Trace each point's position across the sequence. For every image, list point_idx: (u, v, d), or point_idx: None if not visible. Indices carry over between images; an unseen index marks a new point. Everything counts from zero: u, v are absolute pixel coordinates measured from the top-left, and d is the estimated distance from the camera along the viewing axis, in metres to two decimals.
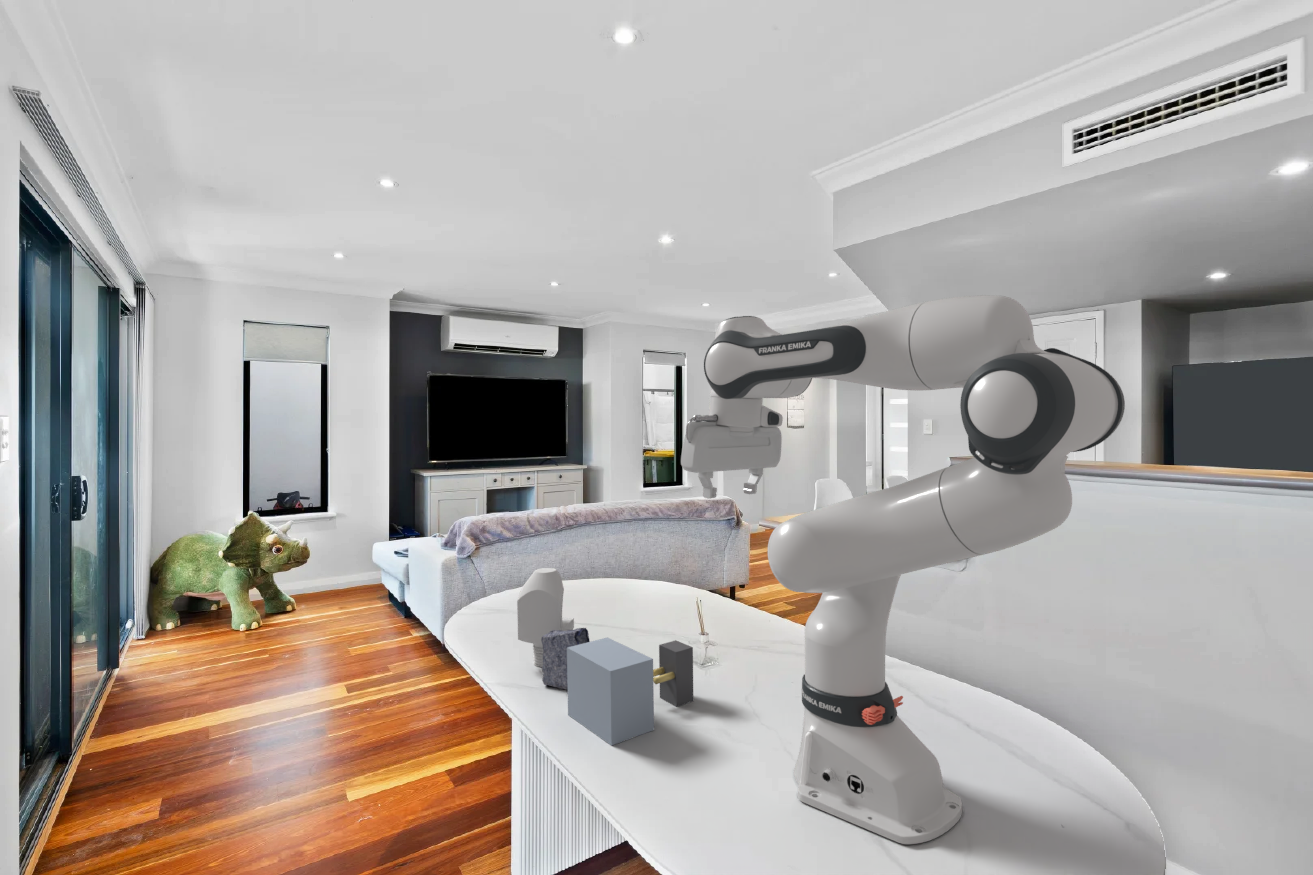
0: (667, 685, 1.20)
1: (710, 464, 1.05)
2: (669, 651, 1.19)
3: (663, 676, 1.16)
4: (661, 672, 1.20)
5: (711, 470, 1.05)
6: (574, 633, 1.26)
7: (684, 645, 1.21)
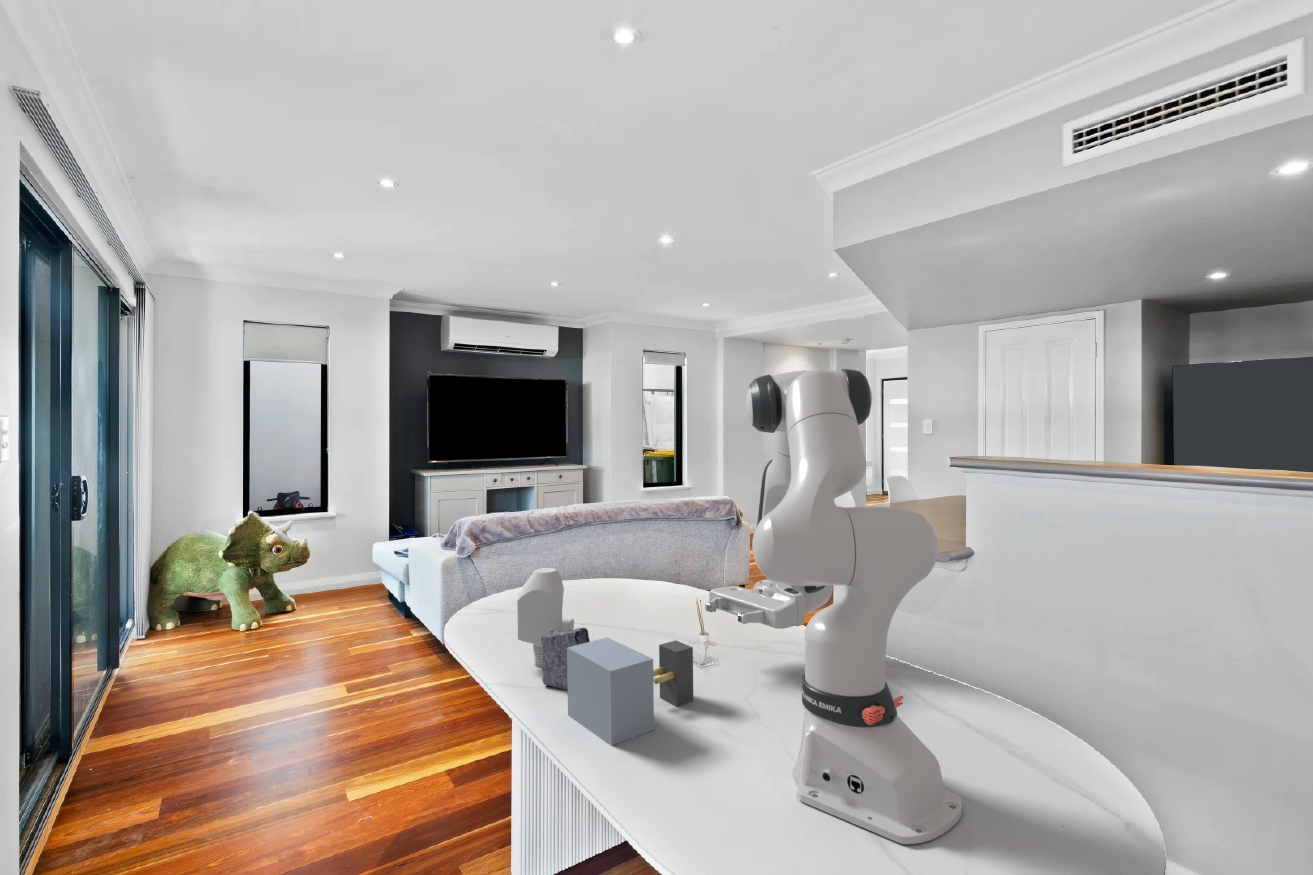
0: (667, 685, 1.20)
1: (722, 591, 1.37)
2: (669, 651, 1.19)
3: (663, 676, 1.16)
4: (661, 672, 1.20)
5: (720, 593, 1.36)
6: (574, 633, 1.26)
7: (684, 645, 1.21)
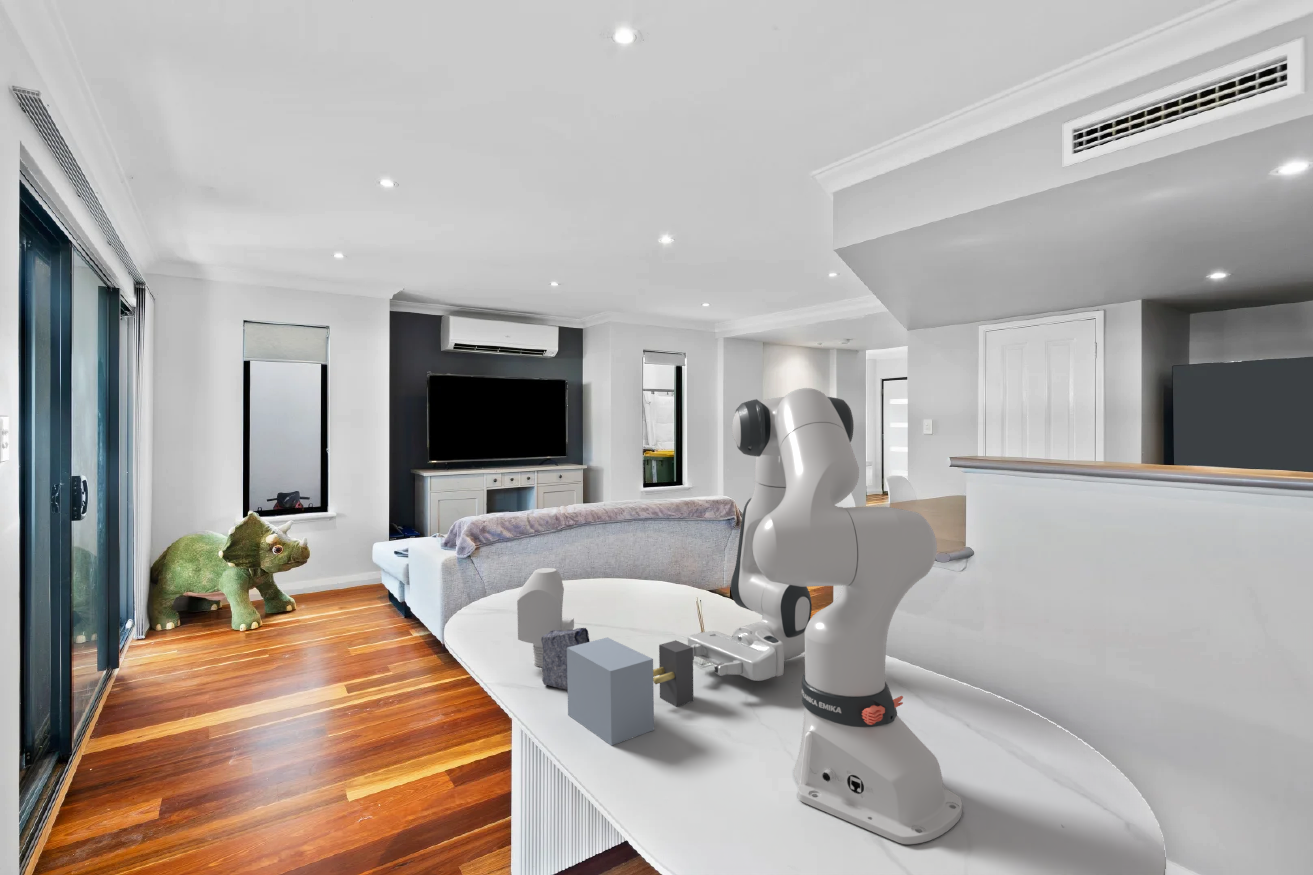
0: (667, 685, 1.20)
1: (701, 638, 1.33)
2: (670, 651, 1.19)
3: (663, 676, 1.16)
4: (661, 672, 1.20)
5: (698, 640, 1.32)
6: (574, 633, 1.26)
7: (684, 645, 1.21)
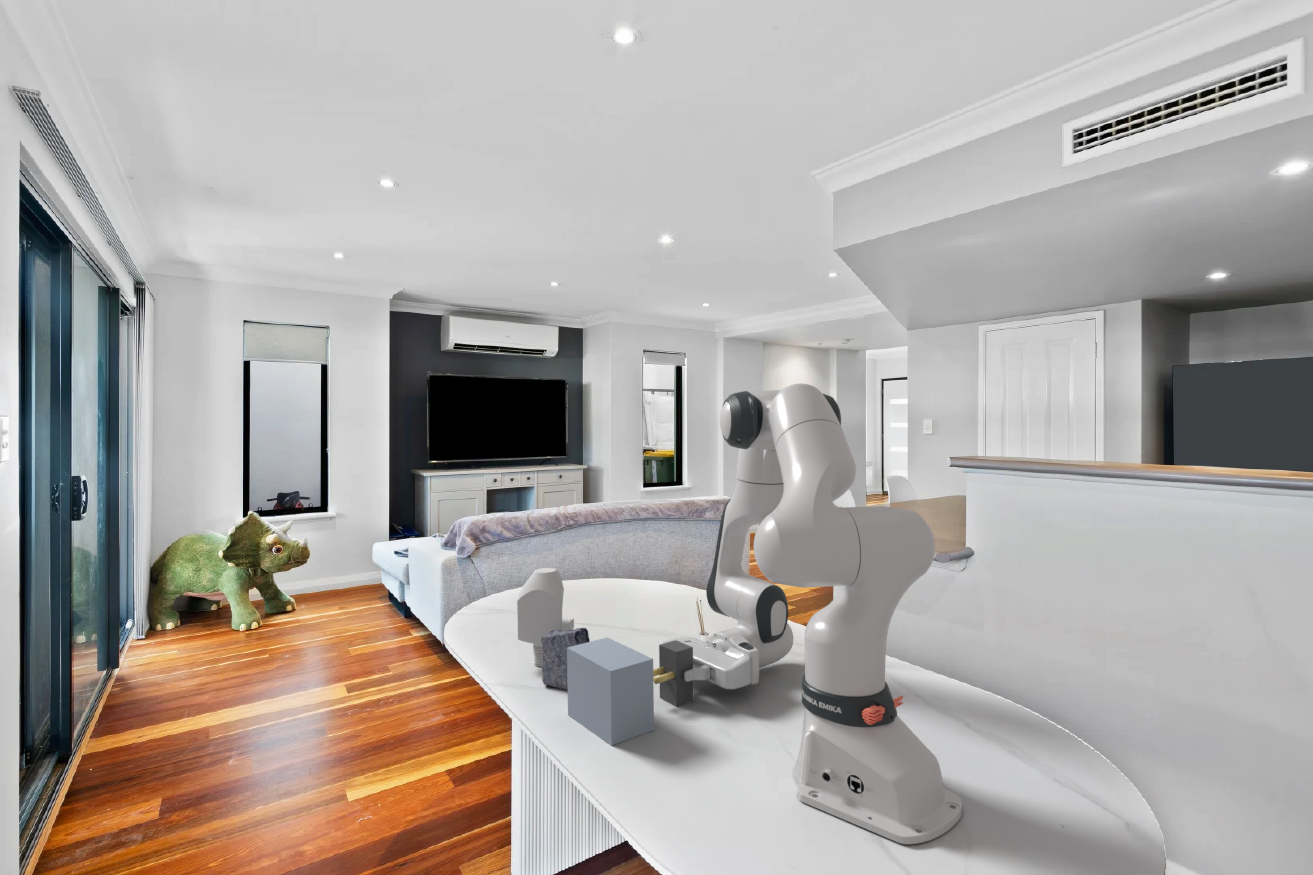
0: (667, 685, 1.20)
1: None
2: (670, 651, 1.19)
3: (663, 676, 1.16)
4: (661, 672, 1.20)
5: None
6: (574, 633, 1.26)
7: (684, 645, 1.21)
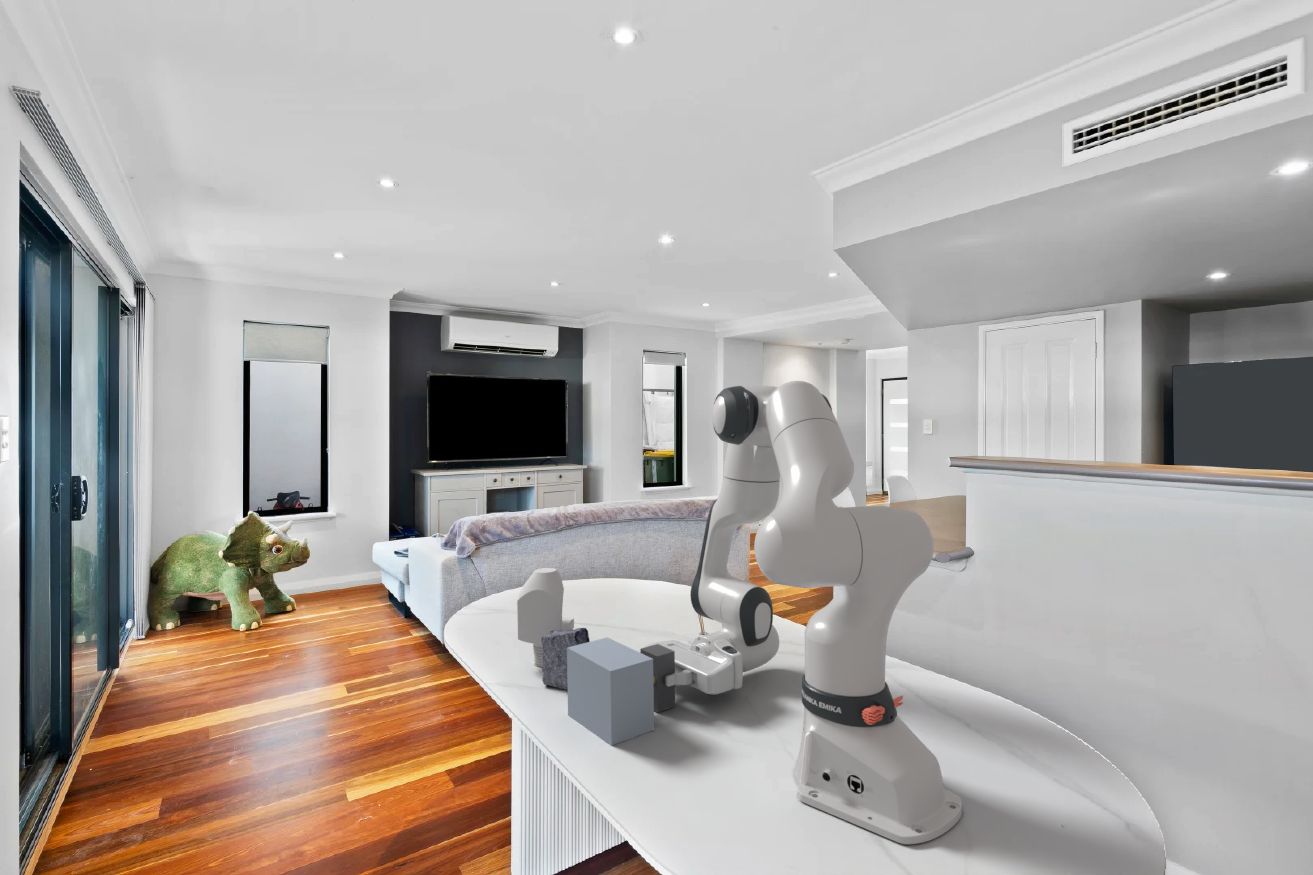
0: None
1: None
2: (651, 656, 1.16)
3: None
4: None
5: None
6: (574, 633, 1.26)
7: (666, 649, 1.18)
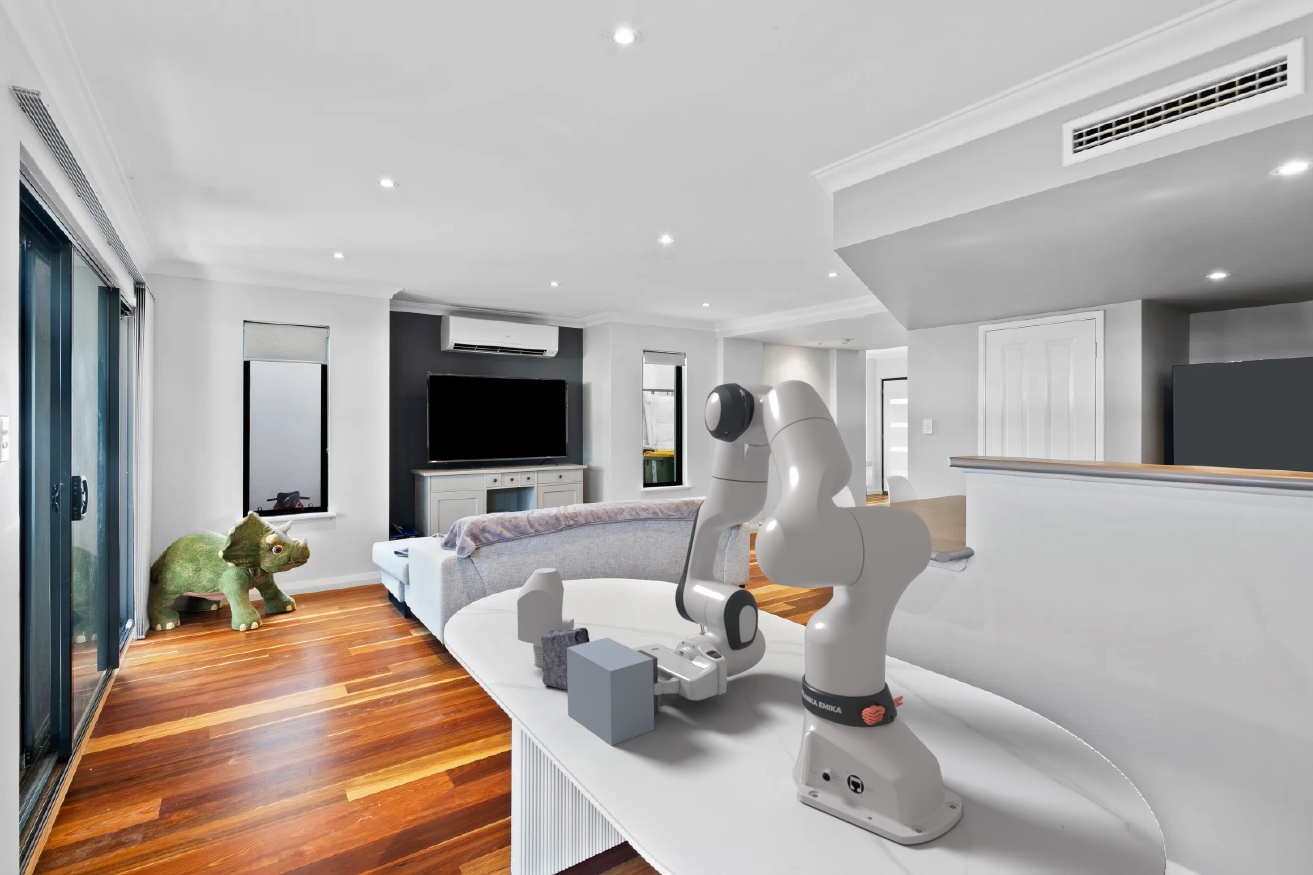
0: None
1: None
2: None
3: None
4: None
5: None
6: (574, 633, 1.26)
7: (649, 655, 1.16)
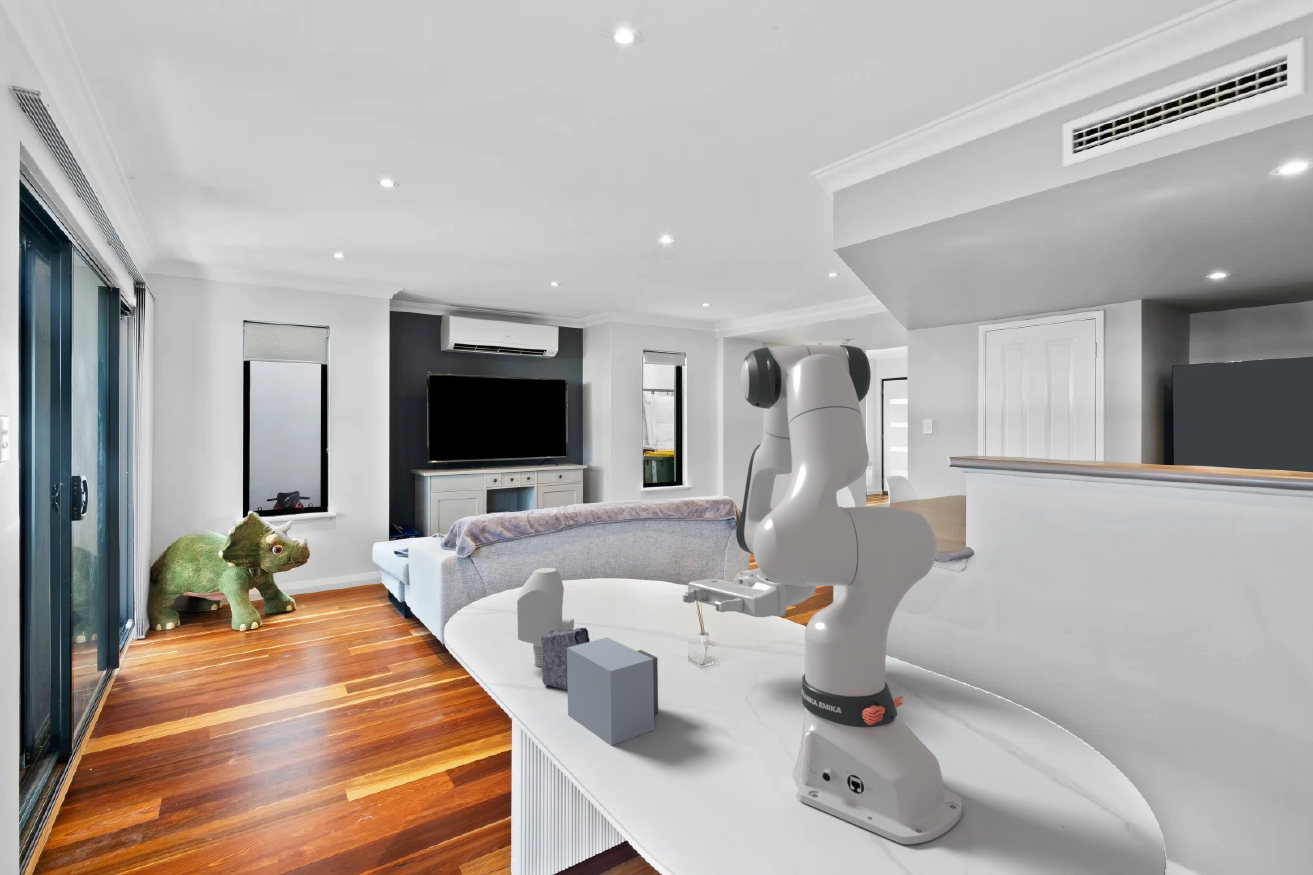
0: None
1: (702, 583, 1.31)
2: None
3: None
4: None
5: (699, 584, 1.30)
6: (574, 633, 1.26)
7: (649, 655, 1.16)
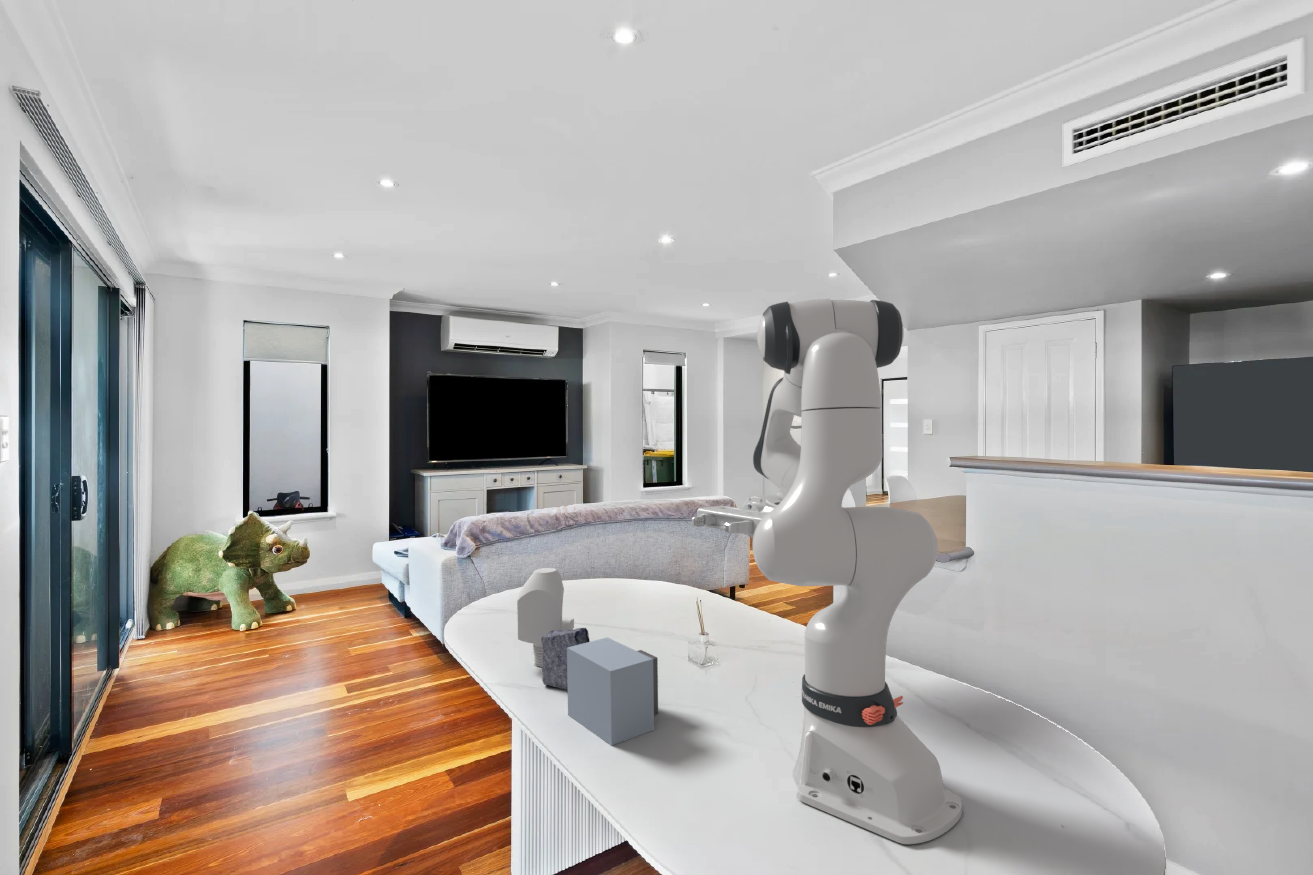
0: None
1: (710, 509, 1.31)
2: None
3: None
4: None
5: (708, 510, 1.31)
6: (574, 633, 1.26)
7: (649, 655, 1.16)
